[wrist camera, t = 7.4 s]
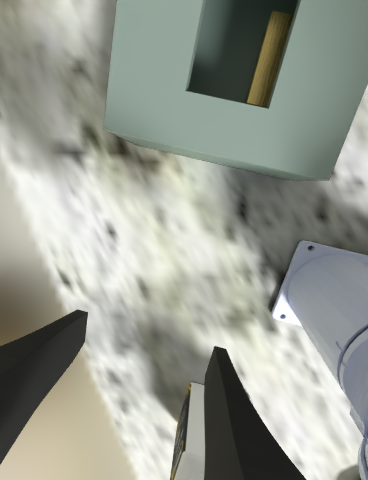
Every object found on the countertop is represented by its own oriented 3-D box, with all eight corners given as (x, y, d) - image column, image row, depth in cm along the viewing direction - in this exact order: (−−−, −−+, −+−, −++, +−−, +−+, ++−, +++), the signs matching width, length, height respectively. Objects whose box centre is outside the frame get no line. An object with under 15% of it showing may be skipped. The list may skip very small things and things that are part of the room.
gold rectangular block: (263, 35, 16) (326, 48, 15) (241, 112, 17) (299, 126, 17) (272, 10, 13) (347, 25, 13) (246, 102, 15) (314, 117, 15)
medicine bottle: (190, 379, 25) (173, 551, 13) (252, 396, 25) (290, 587, 13) (176, 424, 27) (153, 606, 15) (234, 440, 27) (253, 639, 15)
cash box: (357, -19, 15) (465, -163, 8) (288, 180, 18) (329, 180, 12) (167, -55, 15) (139, -213, 9) (137, 145, 19) (103, 129, 13)
